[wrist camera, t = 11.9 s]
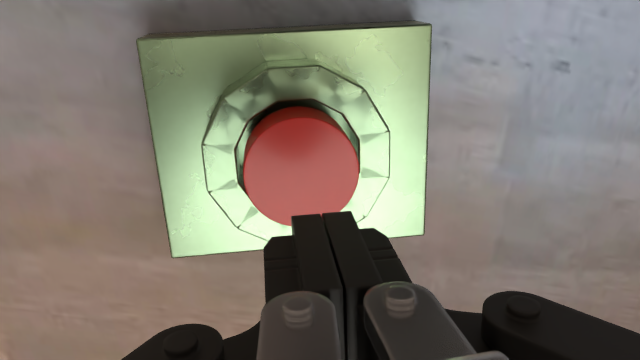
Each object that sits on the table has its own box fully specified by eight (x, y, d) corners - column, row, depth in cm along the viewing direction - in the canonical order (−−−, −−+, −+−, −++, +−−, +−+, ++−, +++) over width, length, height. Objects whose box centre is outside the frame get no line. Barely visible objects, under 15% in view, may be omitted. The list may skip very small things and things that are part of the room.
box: (178, 235, 24) (164, 281, 20) (147, 33, 20) (123, 43, 17) (411, 215, 25) (438, 255, 21) (415, 20, 21) (449, 26, 18)
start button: (248, 212, 20) (248, 232, 18) (238, 109, 18) (237, 121, 17) (351, 203, 20) (360, 222, 18) (349, 102, 19) (358, 113, 17)
